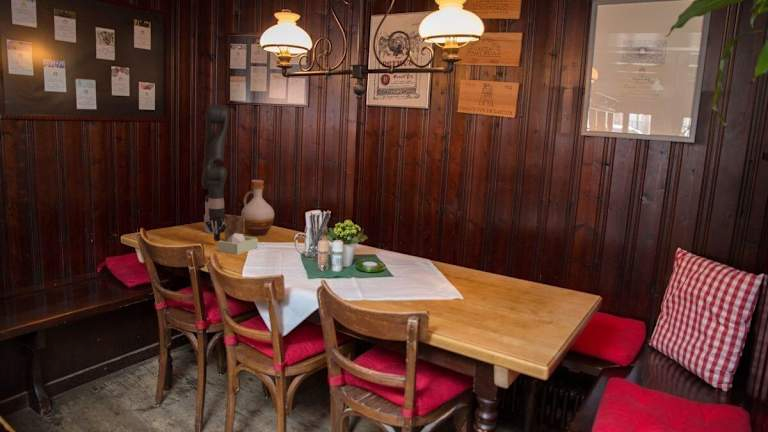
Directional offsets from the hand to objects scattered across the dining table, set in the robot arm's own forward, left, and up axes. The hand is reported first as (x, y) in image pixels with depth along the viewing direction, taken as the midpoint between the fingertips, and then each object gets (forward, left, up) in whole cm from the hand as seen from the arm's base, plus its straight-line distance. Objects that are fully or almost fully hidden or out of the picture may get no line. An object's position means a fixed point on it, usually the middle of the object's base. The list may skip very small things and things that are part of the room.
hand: (217, 240), depth 287 cm
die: (+13, 0, -3) cm, 13 cm away
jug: (-1, +33, -3) cm, 33 cm away
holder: (+13, 0, -3) cm, 13 cm away
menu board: (+2, +11, -3) cm, 11 cm away
